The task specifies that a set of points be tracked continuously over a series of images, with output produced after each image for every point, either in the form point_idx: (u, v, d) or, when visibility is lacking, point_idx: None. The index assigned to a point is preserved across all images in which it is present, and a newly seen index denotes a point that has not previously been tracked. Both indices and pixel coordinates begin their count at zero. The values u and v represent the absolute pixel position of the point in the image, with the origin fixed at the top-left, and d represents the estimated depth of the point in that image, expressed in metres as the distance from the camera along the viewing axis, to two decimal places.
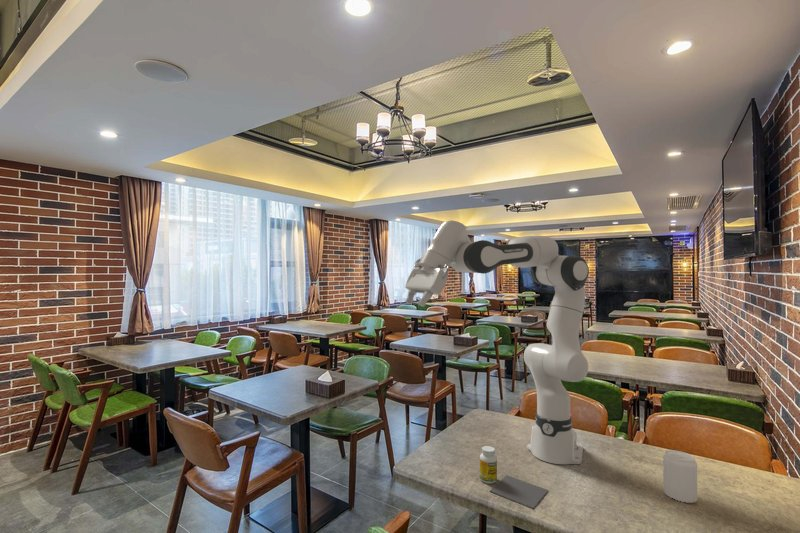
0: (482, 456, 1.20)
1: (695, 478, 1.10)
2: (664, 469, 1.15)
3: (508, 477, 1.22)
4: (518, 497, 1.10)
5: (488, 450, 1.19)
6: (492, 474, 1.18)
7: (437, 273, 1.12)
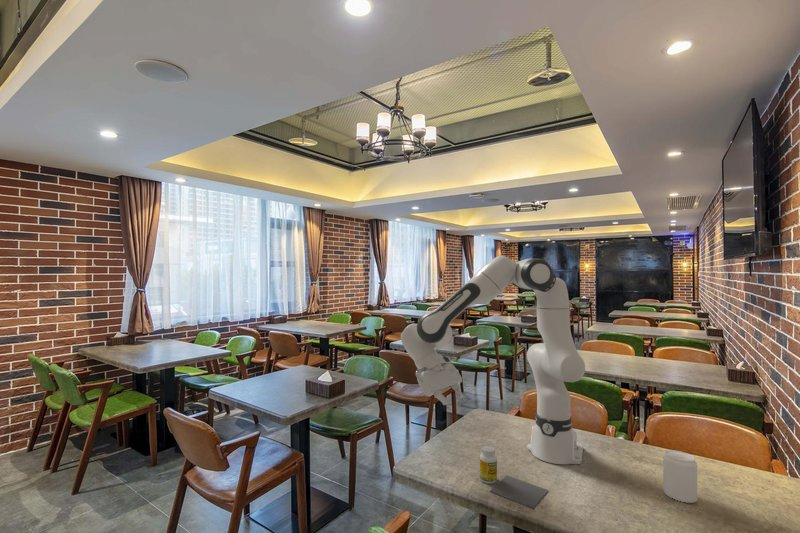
0: (482, 456, 1.20)
1: (695, 478, 1.10)
2: (664, 469, 1.15)
3: (508, 477, 1.22)
4: (518, 497, 1.10)
5: (488, 450, 1.19)
6: (492, 474, 1.18)
7: None
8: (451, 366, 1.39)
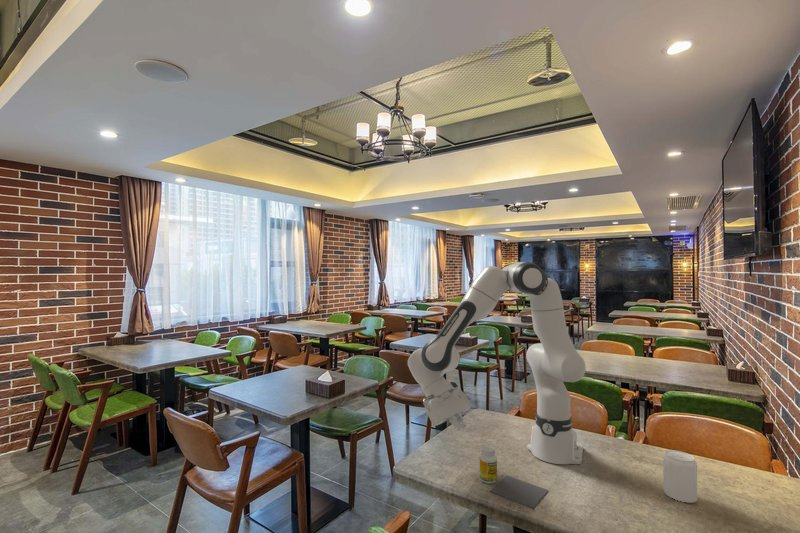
0: (482, 456, 1.20)
1: (695, 478, 1.10)
2: (664, 469, 1.15)
3: (508, 477, 1.22)
4: (518, 497, 1.10)
5: (488, 450, 1.19)
6: (492, 474, 1.18)
7: None
8: (459, 392, 1.37)
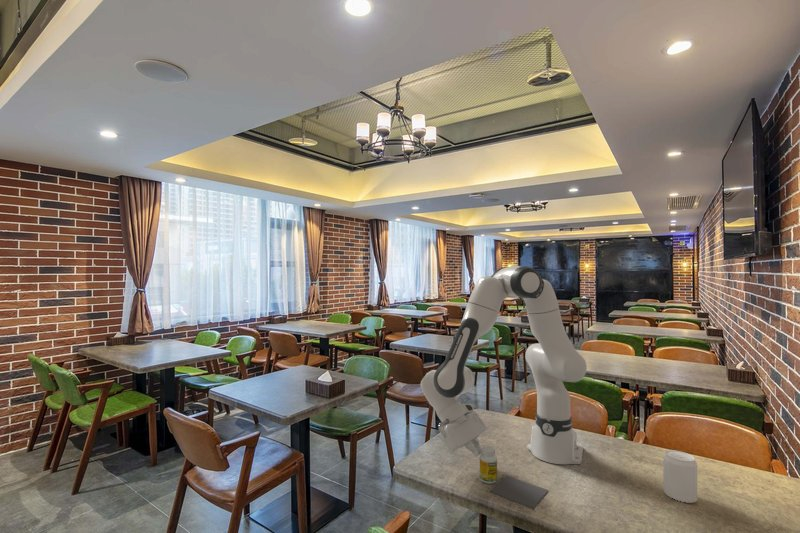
0: (482, 456, 1.20)
1: (695, 478, 1.10)
2: (664, 469, 1.15)
3: (508, 477, 1.22)
4: (518, 497, 1.10)
5: (488, 450, 1.19)
6: (492, 474, 1.18)
7: None
8: (474, 414, 1.33)
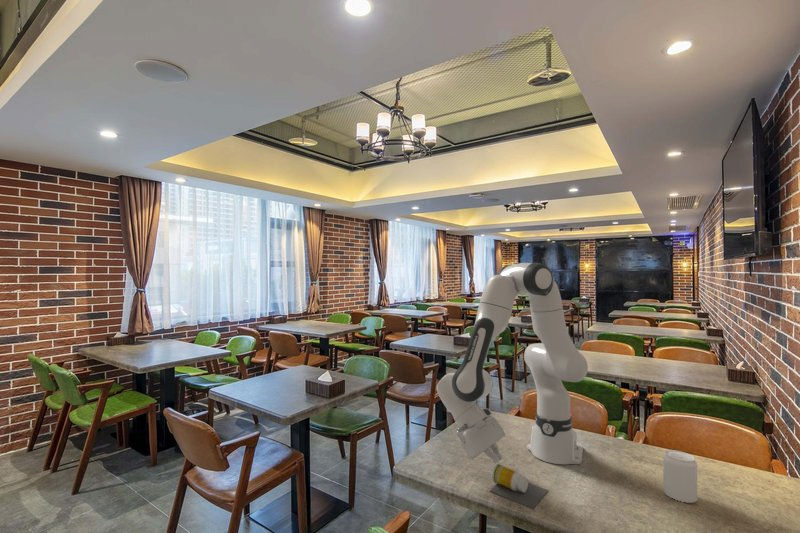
0: (515, 481, 1.13)
1: (695, 478, 1.10)
2: (664, 469, 1.15)
3: None
4: (518, 497, 1.10)
5: (522, 488, 1.11)
6: (502, 485, 1.16)
7: None
8: (492, 419, 1.28)
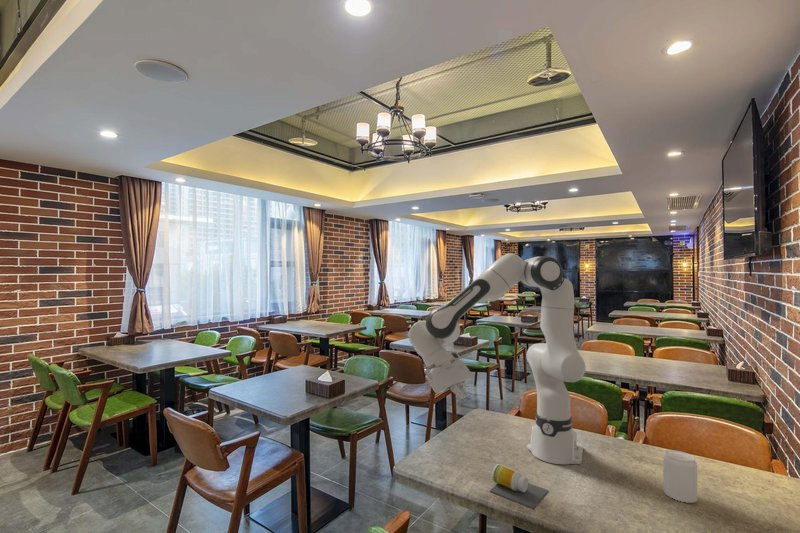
0: (515, 480, 1.13)
1: (695, 478, 1.10)
2: (664, 469, 1.15)
3: None
4: (518, 497, 1.10)
5: (522, 488, 1.11)
6: (502, 485, 1.16)
7: None
8: (460, 362, 1.37)
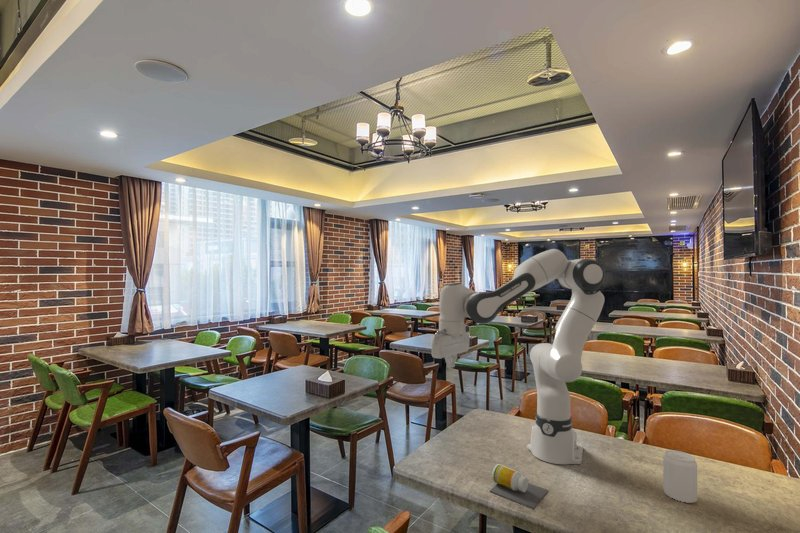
0: (515, 480, 1.13)
1: (695, 478, 1.10)
2: (664, 469, 1.15)
3: None
4: (518, 497, 1.10)
5: (522, 488, 1.11)
6: (502, 485, 1.16)
7: None
8: (467, 335, 1.42)
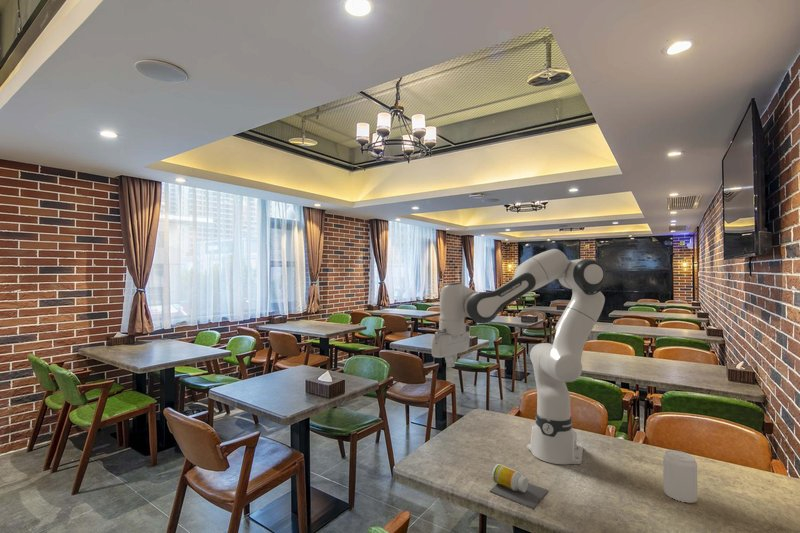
0: (515, 480, 1.13)
1: (695, 478, 1.10)
2: (664, 469, 1.15)
3: None
4: (518, 497, 1.10)
5: (522, 488, 1.11)
6: (502, 485, 1.16)
7: None
8: (467, 335, 1.42)
